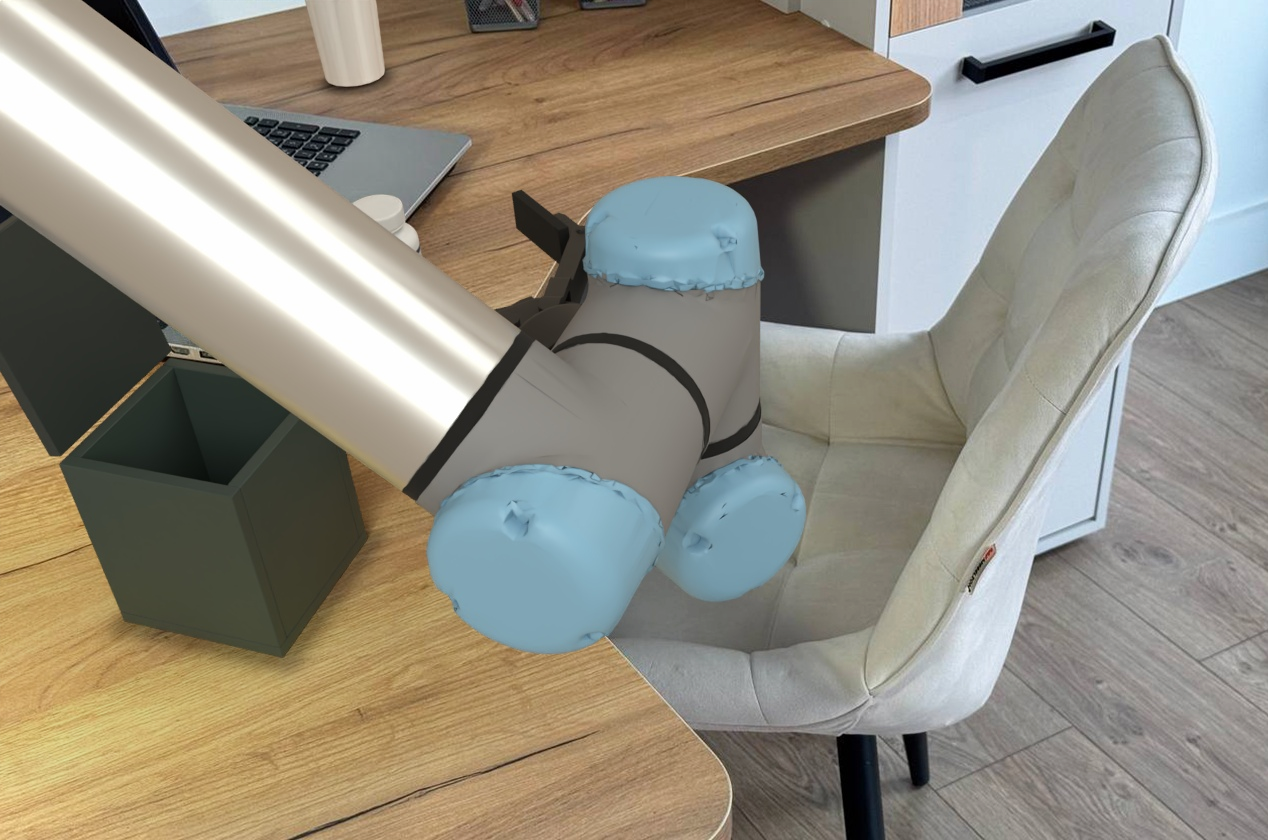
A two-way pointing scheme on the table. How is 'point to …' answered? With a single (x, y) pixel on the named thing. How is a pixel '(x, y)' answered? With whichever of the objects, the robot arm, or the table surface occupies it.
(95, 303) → the trash lid
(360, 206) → the pill bottle
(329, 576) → the trash bin
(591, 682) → the table surface
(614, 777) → the table surface
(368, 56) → the cup
